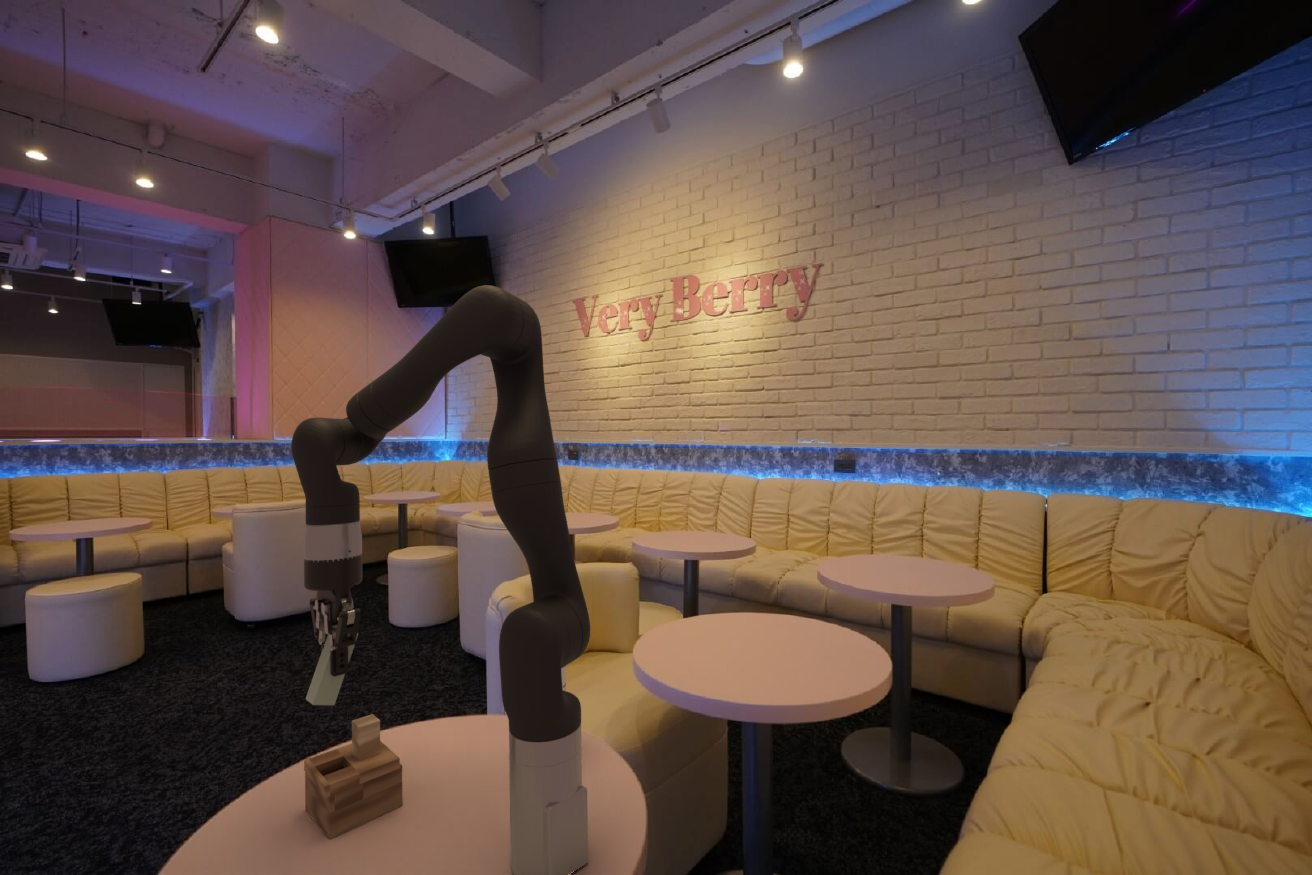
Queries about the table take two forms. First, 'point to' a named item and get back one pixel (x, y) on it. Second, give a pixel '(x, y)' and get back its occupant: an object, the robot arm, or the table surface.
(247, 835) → the table surface
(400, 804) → the box
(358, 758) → the lid
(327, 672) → the green square block
